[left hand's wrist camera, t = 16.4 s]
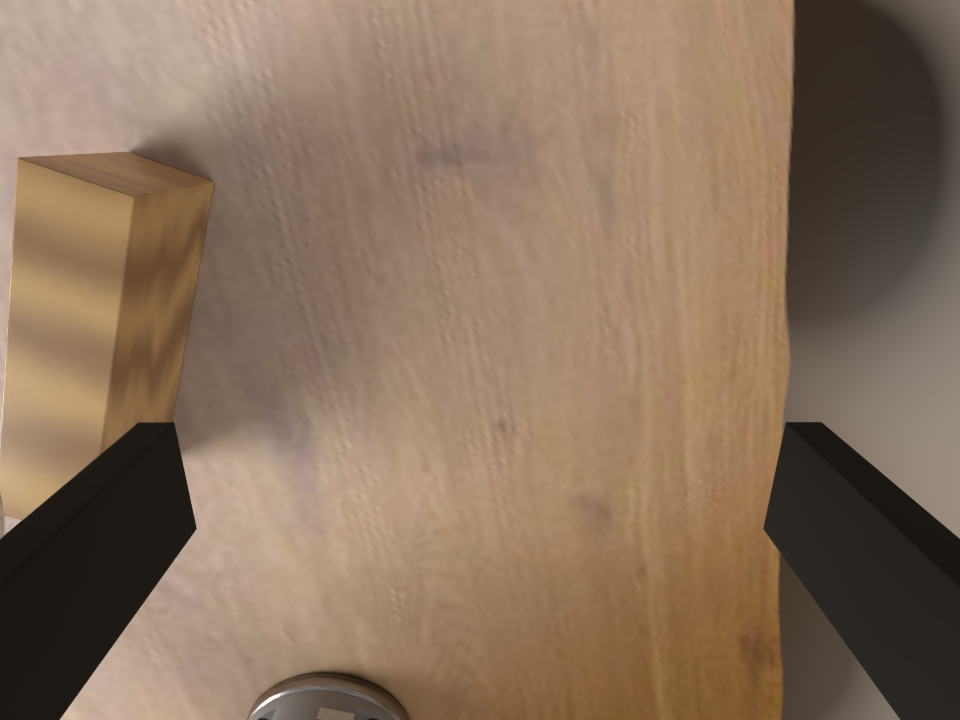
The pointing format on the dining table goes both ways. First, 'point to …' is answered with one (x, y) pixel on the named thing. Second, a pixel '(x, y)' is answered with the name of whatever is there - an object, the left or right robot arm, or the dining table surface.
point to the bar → (93, 311)
